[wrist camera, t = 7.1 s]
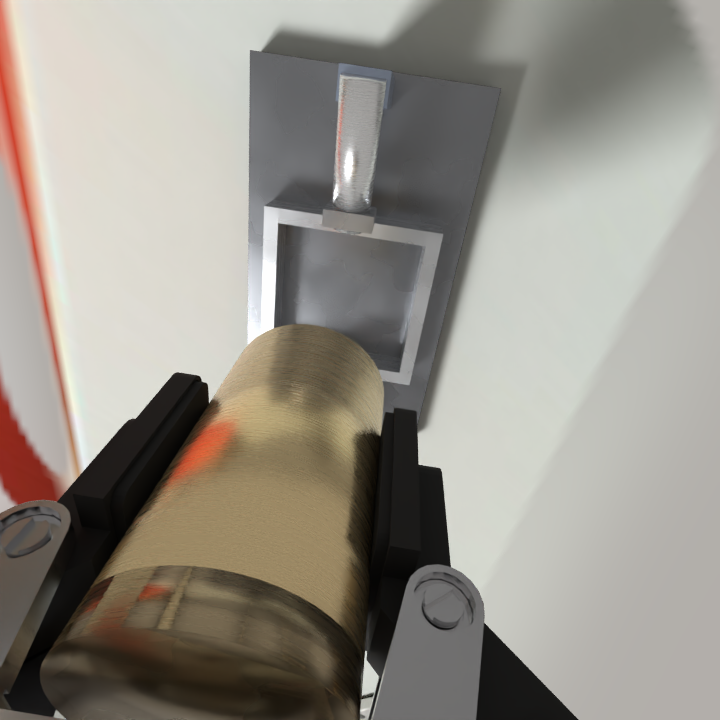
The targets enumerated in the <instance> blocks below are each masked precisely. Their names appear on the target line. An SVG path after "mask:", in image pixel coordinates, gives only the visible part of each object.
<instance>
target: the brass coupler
mask: <svg viewBox="0 0 720 720" xmlns="http://www.w3.org/2000/svg"><path fill="white" fill-rule="evenodd" d="M383 404H384V387H383V382H382V378H381V375H380V372H379V370H378V368H377V366H376V365H375V363H374V361H373V360H372V359H371V357H370V356H369V355H368V353H367V352H366V351H365V350H364V349H363V348H362V347H361V346H359V345H358V344H357V343H356V342H354V341H353V340H351V339H350V338H348V337H347V336H345V335H343V334H341V333H339V332H337V331H334V330H332V329H329V328H326V327H322V326H317V325H310V324H291V325H284V326H280V327H276V328H273V329H271V330H268V331H266V332H264V333H262V334H261V335H259V336H258V337H256V338H255V339H254V340H253V341H251V342H250V343H249V344H248V346H247V347H246V348H245V349H244V350H243V352H242V354H241V355H240V357H239V358H238V360H237V361H236V363H235V364H234V366H233V368H232V369H231V371H230V372H229V374H228V375H227V377H226V378H225V380H224V381H223V383H222V385H221V386H220V388H219V389H218V391H217V392H216V394H215V395H214V397H213V398H212V400H211V402H210V403H209V405H208V406H207V408H206V409H205V411H204V412H203V414H202V416H201V417H200V419H199V420H198V422H197V423H196V425H195V426H194V428H193V429H192V431H191V433H190V434H189V436H188V437H187V439H186V440H185V442H184V443H183V445H182V446H181V448H180V450H179V451H178V453H177V454H176V456H175V457H174V459H173V460H172V462H171V463H170V465H169V467H168V468H167V470H166V471H165V473H164V474H163V476H162V477H161V479H160V481H159V482H158V484H157V485H156V487H155V488H154V490H153V491H152V493H151V494H150V496H149V498H148V499H147V501H146V502H145V504H144V505H143V507H142V508H141V510H140V511H139V513H138V515H137V516H136V518H135V519H134V521H133V522H132V524H131V525H130V527H129V528H128V530H127V532H126V533H125V535H124V536H123V538H122V539H121V541H120V542H119V544H118V546H117V547H116V549H115V550H114V552H113V553H112V555H111V556H110V558H109V559H108V561H107V563H106V564H105V566H104V567H103V569H102V570H101V572H100V573H99V575H98V576H97V578H96V580H95V581H94V583H93V584H92V586H91V587H90V589H89V590H88V592H87V594H86V595H85V597H84V598H83V600H82V601H81V603H80V604H79V606H78V607H77V609H76V611H75V612H74V614H73V615H72V617H71V618H70V620H69V621H68V623H67V624H66V626H65V628H64V629H63V631H62V632H61V634H60V635H59V637H58V638H57V640H56V641H55V643H54V645H53V646H52V648H51V649H50V651H49V652H48V654H47V655H46V657H45V659H44V661H43V662H42V665H41V669H40V682H41V685H42V688H43V691H44V693H45V695H46V696H47V698H48V700H49V701H50V703H51V704H52V705H53V706H54V707H55V709H56V710H57V711H58V712H59V713H60V714H61V715H62V716H63V717H64V718H66V719H67V720H360V709H361V696H362V682H363V669H364V656H365V643H366V629H367V616H368V603H369V589H370V579H369V572H370V559H371V546H372V534H373V521H374V508H375V496H376V483H377V470H378V457H379V445H380V435H381V430H382V417H383Z"/></svg>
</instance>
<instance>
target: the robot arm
mask: <svg viewBox="0 0 720 720" xmlns="http://www.w3.org/2000/svg"><path fill="white" fill-rule="evenodd" d="M208 405H209V396H208V385H207V383H204V382H202V381H201V378H200V376H197V375H191V374H184V373H178V372H177V373H175V374H173V375H172V377H171V378H170V379H169V380H168V381H167V382H166V384H165V385H164V386H163V387H162V388H161V390H160V391H159V392H158V393H157V394H156V396H155V397H154V398H153V399H152V400H151V401H150V403H149V404H148V405H147V406H146V407H145V409H144V410H143V411H142V412H141V413H140V414H139V416H138V417H137V418H136V419H131V420H129V421H127V422H126V423H125V424H124V425H123V426H122V427H121V429H120V430H119V431H118V432H117V433H116V434H115V436H114V437H113V438H112V439H111V440H110V441H109V442H108V444H107V445H106V446H105V447H104V448H103V449H102V451H101V452H100V453H99V454H98V455H97V456H96V458H95V459H94V460H93V461H92V462H91V463H90V464H89V466H88V467H87V468H86V469H85V470H84V471H83V473H82V474H81V475H80V476H79V477H78V478H77V479H76V481H75V482H74V483H73V484H72V485H71V486H70V488H69V489H68V490H67V491H66V492H65V493H64V494H63V496H62V497H61V498H60V499H59V500H58V501H57V502H55V501H48V500H38V501H30V502H26V503H23V504H20V505H16V506H14V507H12V508H10V509H8V510H6V511H4V512H2V513H0V720H66V719H65V718H64V717H63V716H62V715H61V714H60V713H59V712H58V711H57V710H56V709H55V707H54V706H53V705H52V704H51V703H50V701H49V700H48V698H47V696H46V695H45V693H44V691H43V688H42V685H41V682H40V669H41V665H42V662H43V661H44V659H45V657H46V655H47V654H48V652H49V651H50V649H51V648H52V646H53V645H54V643H55V641H56V640H57V638H58V637H59V635H60V634H61V632H62V631H63V629H64V628H65V626H66V624H67V623H68V621H69V620H70V618H71V617H72V615H73V614H74V612H75V611H76V609H77V607H78V606H79V604H80V603H81V601H82V600H83V598H84V597H85V595H86V594H87V592H88V590H89V589H90V587H91V586H92V584H93V583H94V581H95V580H96V578H97V576H98V575H99V573H100V572H101V570H102V569H103V567H104V566H105V564H106V563H107V561H108V559H109V558H110V556H111V555H112V553H113V552H114V550H115V549H116V547H117V546H118V544H119V542H120V541H121V539H122V538H123V536H124V535H125V533H126V532H127V530H128V528H129V527H130V525H131V524H132V522H133V521H134V519H135V518H136V516H137V515H138V513H139V511H140V510H141V508H142V507H143V505H144V504H145V502H146V501H147V499H148V498H149V496H150V494H151V493H152V491H153V490H154V488H155V487H156V485H157V484H158V482H159V481H160V479H161V477H162V476H163V474H164V473H165V471H166V470H167V468H168V467H169V465H170V463H171V462H172V460H173V459H174V457H175V456H176V454H177V453H178V451H179V450H180V448H181V446H182V445H183V443H184V442H185V440H186V439H187V437H188V436H189V434H190V433H191V431H192V429H193V428H194V426H195V425H196V423H197V422H198V420H199V419H200V417H201V416H202V414H203V412H204V411H205V409H206V408H207V406H208ZM369 579H370V589H369V603H368V616H367V629H366V643H365V651H367V661H368V662H369V663H370V665H371V666H372V667H373V669H374V670H375V672H376V673H377V674H378V676H379V677H378V681H377V685H376V688H375V692H374V696H373V697H369V698H364V699H361V709H360V720H578V719H577V718H576V717H575V716H574V715H573V714H572V713H571V712H570V711H569V710H568V709H567V708H566V706H565V705H563V703H562V702H561V701H560V700H559V699H558V698H557V697H556V696H555V695H554V694H553V693H552V692H551V691H550V690H549V689H548V688H547V687H546V686H545V685H544V684H543V683H542V682H541V681H540V680H539V679H538V678H537V677H536V676H535V675H534V674H533V673H532V671H531V670H529V668H528V667H526V665H525V664H524V663H523V662H522V661H521V660H520V659H519V658H518V657H517V656H516V655H515V654H514V653H513V652H512V651H511V650H510V649H509V648H508V647H507V646H506V645H505V644H504V643H503V642H502V641H501V640H500V639H499V638H498V637H497V636H496V634H495V633H494V632H493V631H492V630H491V629H489V627H488V626H487V625H486V624H485V623H484V603H483V601H482V598H481V596H480V593H479V591H478V590H477V588H476V587H475V585H474V584H473V583H472V581H471V580H469V579H468V578H467V577H466V576H465V575H464V574H463V573H461V572H459V571H457V570H455V569H453V568H451V565H450V554H449V543H448V532H447V522H446V511H445V500H444V490H443V479H442V472H441V469H440V468H435V467H429V466H423V465H418V436H417V412H416V411H415V410H408V409H402V408H396V407H395V408H394V411H393V413H391V412H385V415H384V420H383V425H382V430H381V435H380V445H379V457H378V470H377V483H376V496H375V508H374V521H373V534H372V546H371V559H370V572H369Z"/></svg>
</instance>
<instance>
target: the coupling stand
mask: <svg viewBox="0 0 720 720" xmlns="http://www.w3.org/2000/svg"><path fill="white" fill-rule="evenodd" d="M500 91H501V88H495V87H488V86H482V85H475V84H469V83H462V82H456V81H449V80H442V79H436V78H429V77H423V76H416V75H410V74H403V73H397V72H392V71H390V70H383V69H377V68H370V67H364V66H357V65H351V64H344V63H339V64H338V63H331V62H325V61H318V60H311V59H305V58H298V57H292V56H285V55H279V54H272V53H266V52H259V51H252V50H250V122H249V244H248V344H249V343H250V342H251V341H253V340H254V339H255V338H256V337H258V336H259V335H261V334H262V333H264V332H266V331H268V330H271V329H273V328H276V327H280V326H284V325H291V324H310V325H317V326H322V327H326V328H329V329H332V330H334V331H337V332H339V333H341V334H343V335H345V336H347V337H348V338H350V339H351V340H353V341H354V342H356V343H357V344H358V345H359V346H361V347H362V348H363V349H364V350H365V351H366V352H367V353H368V355H369V356H370V357H371V359H372V360H373V361H374V363H375V365H376V366H377V368H378V370H379V372H380V375H381V378H382V382H383V387H384V404H383V417H382V425H383V420H384V415H385V412H391V413H393V411H394V408H395V407H396V408H402V409H408V410H415V411H416V412H417V425H418V421H419V417H420V413H421V408H422V404H423V400H424V396H425V392H426V388H427V384H428V380H429V376H430V372H431V368H432V364H433V360H434V356H435V352H436V348H437V344H438V340H439V336H440V332H441V328H442V324H443V320H444V316H445V312H446V308H447V304H448V300H449V296H450V292H451V288H452V284H453V280H454V276H455V272H456V268H457V264H458V260H459V256H460V252H461V248H462V244H463V240H464V236H465V232H466V228H467V224H468V220H469V216H470V212H471V207H472V203H473V199H474V195H475V191H476V187H477V183H478V179H479V175H480V171H481V167H482V163H483V159H484V155H485V151H486V147H487V143H488V139H489V135H490V131H491V127H492V123H493V119H494V115H495V111H496V107H497V103H498V99H499V95H500Z"/></svg>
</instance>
